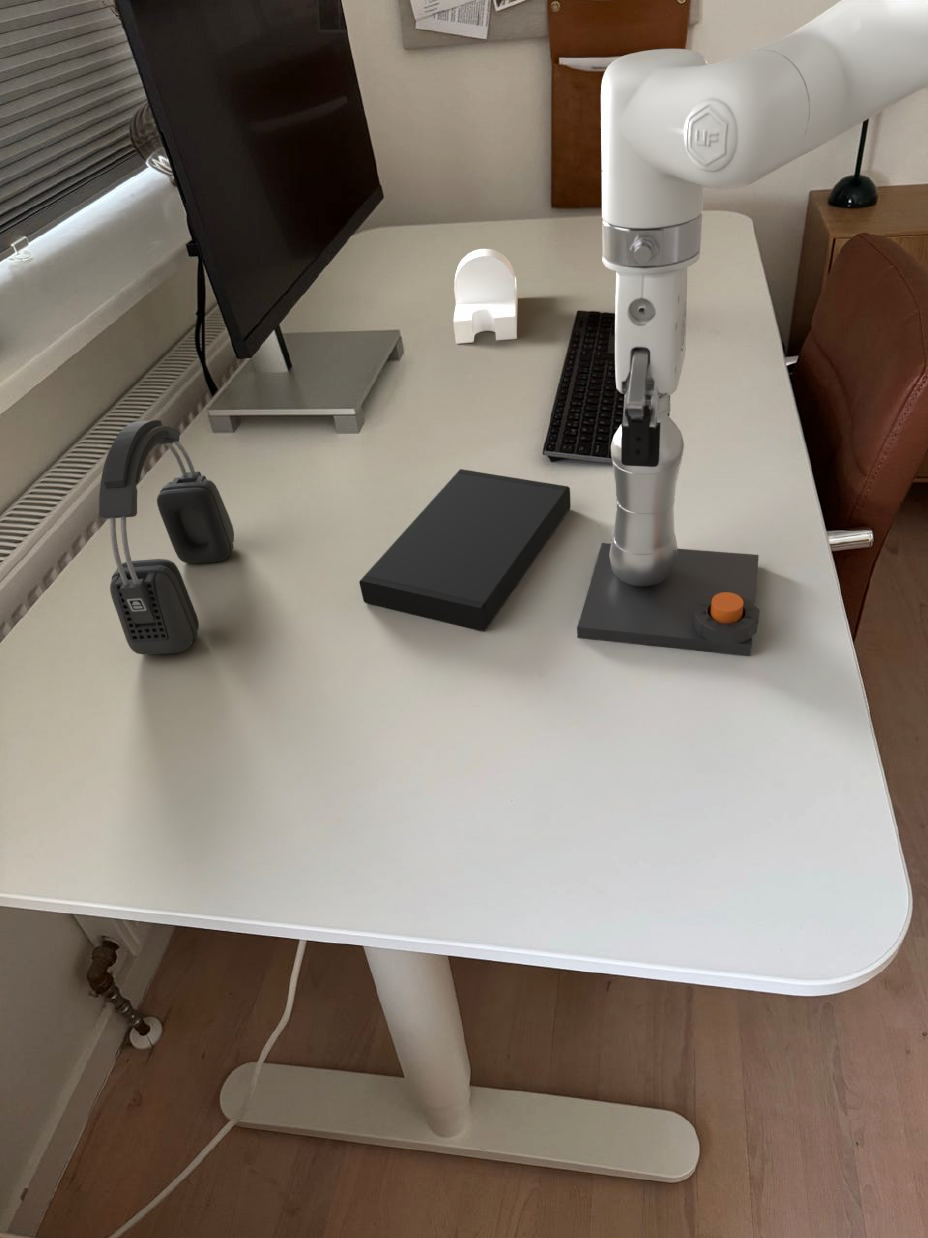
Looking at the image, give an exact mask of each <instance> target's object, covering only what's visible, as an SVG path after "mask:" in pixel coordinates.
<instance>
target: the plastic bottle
mask: <svg viewBox="0 0 928 1238" xmlns="http://www.w3.org/2000/svg"><path fill="white" fill-rule="evenodd" d="M646 389H654V383H653V382H647V384H646ZM651 397H652V396H645V405H647V406H649V409H651ZM669 398H670V399H671V395H667V393H660V394H659V404H658V416H657V423H661V424H660V452H659V463H658V466H656V467H643V466H625V465H623V464H622V463H621V425H619V427H618V428H617V430H616V431H615V433H614V435H613V437H612V441H611V444H610V456H611V462H612V469H613V475H614V482H615V498H616V499H615V503H616V510H615V521H614V530H613V534H612V538H611V540H610V543H611V547H610V553H609V557H610V562H611V567H612V570H613V572H614V573H615V575H616V576H617V577H618V578H619V579H620V580H621V581H623V582H625V583H627V584H630V585H634V586H651V585H655V584H658V583H660V582H662V581H663V580H665V579H666V578H667V577H668V576H669V575H670V574H671V573H672V571H673V570H674V567H675V564H676V560H677V556H678V550H677V549H678V541H677V536H676V533H675V509H674V508H675V496H676V490H677V482H678V479H679V478H678V477H679V473H680V469H681V464H682V460H683V456H684V450H685V449H684V448H685V441H684V437H683V434H682V431H681V430H680V428H679V427H678V425H677V424H676V423H675V422H674V420H673V419H672V418H671V417H670V415H669V416H668V415H667V414H668V413H669V412H670V413H671V401H670V402H669Z"/></svg>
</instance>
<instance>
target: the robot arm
mask: <svg viewBox="0 0 928 1238" xmlns="http://www.w3.org/2000/svg"><path fill="white" fill-rule="evenodd" d="M926 87H928V0H839V1H838V2H837V3H835V4H833V5H832V6H831V7H829V8H827V9H826V10H825V11H823V12H822V13H821V14H819V15H817V16H816V17H814V18H813V19H811V20H810V21H809V22H807V23H806V24H804V25H802V26H801V27H799V28H797V29H796V30H794V31H793V32H791V33H789V34H787V35H786V36H783V37H780V38H777V39H775V40H772V41H769V42H766V43H764V44H762V45H759V46H756V47H753V48H751V49H749V50H746V51H744V52H742V53H739V54H736V55H734V56H731V57H728V58H725V59H722V60H719V61H717V62H712V63H708V61H707V60H706V58H705V56H703V55H702V54H701V53H700V52H698V51H694V50H691V49H686V48H658V49H650V50H649V49H648V50H641V51H638V52H633V53H629V54H625V55H623V56H620V57H618V58H616V59H614V60H613V61H611V63H610V64H608V66H607V67H606V69H605V70H604V72H603V76H602V80H601V86H600V88H601V89H600V119H601V120H600V129H601V130H600V132H601V133H600V135H601V137H600V138H601V139H600V140H601V141H600V142H601V143H600V145H601V150H600V151H601V153H600V155H601V241H602V242H601V243H602V245H601V247H602V248H601V250H602V251H601V252H602V253H601V255H602V257H601V259H602V264H603V266H604V267H606V268H607V269H609V270H611V271H613V272H615V297H614V303H615V306H614V307H615V309H614V370H615V372H614V373H615V376H614V377H615V385H616V390H617V391H618V392H619V393H620V394H622V395H624V397H623V398H624V399H623V411H622V412H623V413H622V421H621V424H620V426H621V463H622V464H623V465H625V466H643V467H656V466H658V463H659V452H660V424H661V423H657V416H658V404H659V394H660V393H667V395H670V396H671V395H673V394H674V393H675V392H676V391H677V389H678V386H679V384H680V383H679V382H680V378H681V376H682V370H683V367H684V362H685V356H686V351H687V350H686V349H687V348H686V347H687V308H688V307H687V306H688V305H687V304H688V267H691V266H692V265H694V264H695V263H696V262H698V260H700V256H701V243H702V242H701V240H702V226H703V225H702V223H703V210H704V208H703V207H704V191H705V187H706V188H708V189H714V190H719V191H720V190H721V191H723V190H724V191H726V190H735V189H736V190H737V189H740V188H743V187H746V186H748V185H751V184H753V183H756V182H757V181H759V180H761V179H763V178H764V177H766V176H769V175H770V174H772V173H774V172H775V171H777V170H779V169H780V168H782V167H783V166H785V165H787V164H790V163H791V162H793V161H794V160H795V161H796V159H798V158H800V157H802V156H804V155H806V154H808V153H810V152H812V151H815V150H816V149H818V148H820V147H822V146H823V145H825V144H826V143H829V142H830V141H832V140H833V139H835V138H837V137H839V136H840V135H843V134H844V133H846V132H847V131H849V130H851V129H853V128H854V127H856V126H858V125H860V124H861V123H863V122H865V121H867V120H868V119H870V118H872V117H874V116H876V115H878V114H879V113H881V112H883V111H885V110H886V109H888V108H890V107H892V106H894V105H896V104H897V103H899V102H901V101H903V100H905V99H907V98H908V97H911V96H912V95H914V94H915V93H918V92H919V91H920V90H923V89H924V88H926ZM647 382H653V383H654V389H646V384H647ZM645 396H652V397H651V409H649V406H647V405H645ZM669 402H670V403H671V397H670V398H669ZM670 413H671V411H670V412H669V413H668V414H667V415H668V416H669V417H670Z"/></svg>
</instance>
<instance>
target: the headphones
mask: <svg viewBox="0 0 928 1238" xmlns="http://www.w3.org/2000/svg"><path fill="white" fill-rule="evenodd" d="M173 443H174V445H175V446H176V447H177V448H178V449H179V451H180V453H181V454H182V455H183V458H184V459H185V462H186V464H187V466H188V469H189V472H188V471H186V467H185V465H184V462H183V460H182V458H181V456H180V454H179V453H178V450H177V449H176V448H175V446H174V445H173ZM163 444H164V445H165V446H166V447H167V448H168V449H169V450H170V451H171V453H172V454H173V456H174V458H175V460H176V462H177V465H178V466H179V468H180V472H181V475H180V477H174V478H173V479H172V480H171V481H170V482H167V483H166V484H165V485H163V486H162V488H161V489H160V490H159V493H158V494H157V497H156V506H157V509H158V512H159V515H160V516H161V519H162V523H163V525H164V527H165V530H166V532H167V535H168V537H169V540H170V542H171V545H172V547H173V550H174V552H175V554H176V556H177V558H178V559H179V561H181V562H183V563H186V564H206V563H217V562H222V561H225V560H226V559H228V557H230V554H231V553H232V552H233V550H234V541H235V532H234V531H235V530H234V527H233V523H232V520H231V517H230V515H229V512H228V509H227V508H226V505H225V503H224V501H223V497H222V496H221V493H220V491H219V489H218V487H217V485H216V484H215V482H213V481H212V480H211V479H207V477H206V476H205V475H202V473H201V471H196V470H195V468H194V465H193V462H192V459H191V458H190V456H189V453H188V452H187V450H186V448H185V447H184V446H183V445H182V444H183V443H181V442H180V431H179V430H178V429H176V428H175V427H172V426H168V425H163V423H162V420H159V419H152V420H140V421H133V422H130V423H129V424H127V425H125V426H124V427H123V428H122V429H121V430H120V431H119V433H118V434H117V435H116V437H115V439H114V441H113V443H112V444H111V446H110V448H109V450H108V453H107V456H106V457H105V460H104V464H103V468H102V471H101V472H102V473H101V476H100V477H101V478H100V485H99V494H98V516H99V517H100V518H103V519H109V525H110V526H109V528H110V529H109V531H110V542H111V546H112V553H113V557H114V560H115V565H116V569H115V571H114V572H113V574H112V577H111V580H110V586H109V592H110V596H111V600H112V602H113V605H114V608H115V611H116V615H117V617H118V620H119V623H120V625H121V628H122V631H123V634H124V638H125V640H126V643H127V645H128V647H129V649H130V650H131V651H132V652H133V653H136V654H138V655H144V656H145V655H160V654H162V655H163V654H164V655H165V654H177V653H182V652H185V651H187V650H189V648H190V647H191V645H192V644H193V643H194V642H196V640H197V638H198V635H199V628H200V621H199V618H198V615H197V612H196V610H195V607H194V604H193V602H192V600H191V597H190V595H189V592H188V589H187V587H186V584H185V582H184V579H183V577H182V574H181V571H180V570H179V568H178V566H177V565H176V563H175V562H174V561H172V560H170V559H166V558H150V559H138V560H132V557H131V553H130V547H129V541H128V533H127V532H128V531H127V518H134V517H137V515H138V487H137V484H138V483H139V481H140V479H141V476H142V473H143V469H144V465H145V463H146V461H147V458H148V457H149V454H150V453H151V451H152V450H153V449H154V448H155V446H157V445H163ZM117 519H120V534H121V543H122V549H123V554H124V557H125V562H122V560H121V559H122V558H121V555H120V551H119V547H118V546H119V545H118V537H117Z"/></svg>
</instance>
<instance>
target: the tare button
mask: <svg viewBox="0 0 928 1238" xmlns="http://www.w3.org/2000/svg"><path fill="white" fill-rule="evenodd" d="M743 604H744V602H743V600H742V598H741V597H740V596H738V595H737V594H734V593H729V592H723V593H719V594H717V595H715V596H714V597H713V599H712V603H711V616H712V618H713V619H714V620H716V621H718V622H720V623H728V624H731V623H735V622H738V621H739V620H740V619H741V618H742V613H743Z"/></svg>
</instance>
